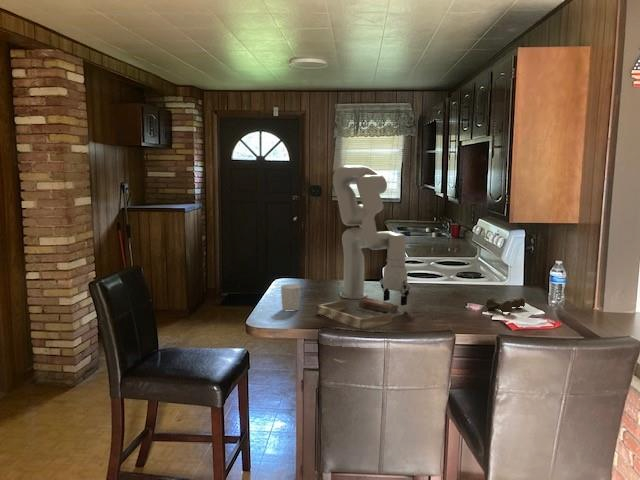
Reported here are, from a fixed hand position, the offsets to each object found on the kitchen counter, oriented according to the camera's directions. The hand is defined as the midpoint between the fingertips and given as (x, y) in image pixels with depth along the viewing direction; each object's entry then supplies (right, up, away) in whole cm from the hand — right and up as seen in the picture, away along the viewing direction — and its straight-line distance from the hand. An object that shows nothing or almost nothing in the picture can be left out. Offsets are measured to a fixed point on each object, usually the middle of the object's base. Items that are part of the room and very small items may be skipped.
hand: (394, 302), depth 222 cm
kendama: (+46, -4, -3) cm, 46 cm away
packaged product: (-7, -4, -6) cm, 10 cm away
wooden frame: (-18, -4, -15) cm, 24 cm away
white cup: (-44, -3, -4) cm, 44 cm away
